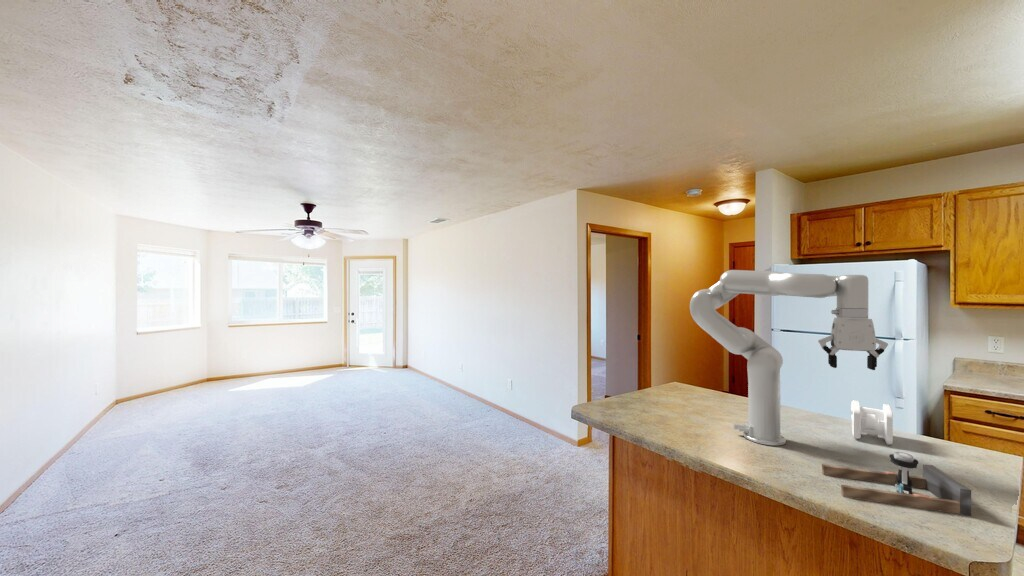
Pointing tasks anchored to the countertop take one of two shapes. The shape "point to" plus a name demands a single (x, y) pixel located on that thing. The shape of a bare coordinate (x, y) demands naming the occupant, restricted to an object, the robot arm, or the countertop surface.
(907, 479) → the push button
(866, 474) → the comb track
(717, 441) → the countertop surface
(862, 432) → the cable organizer
